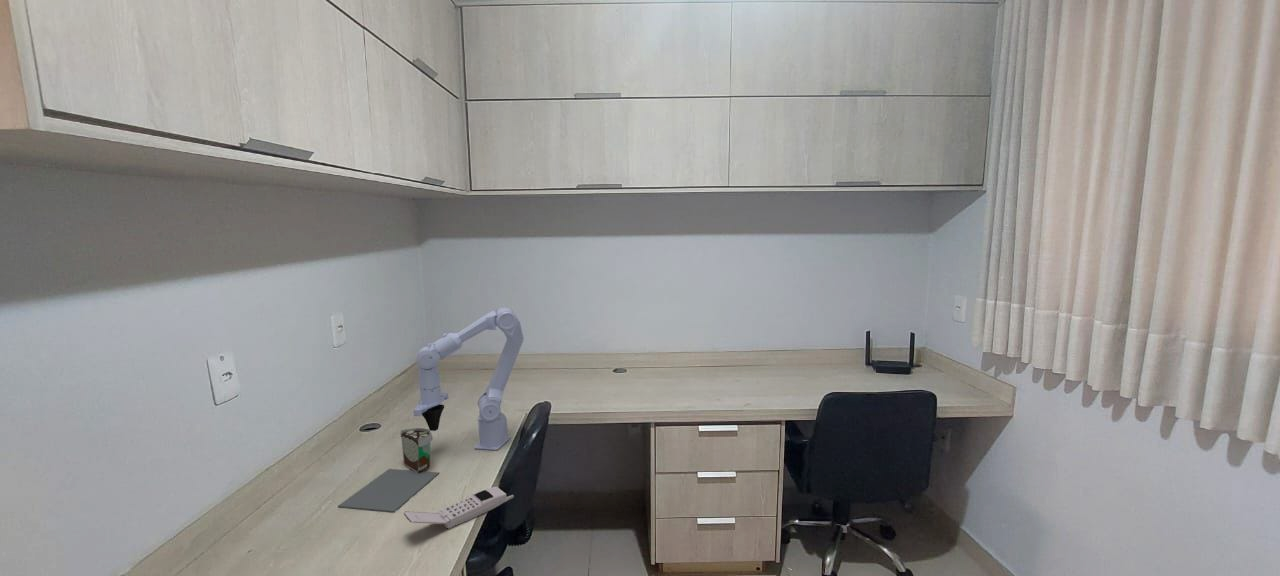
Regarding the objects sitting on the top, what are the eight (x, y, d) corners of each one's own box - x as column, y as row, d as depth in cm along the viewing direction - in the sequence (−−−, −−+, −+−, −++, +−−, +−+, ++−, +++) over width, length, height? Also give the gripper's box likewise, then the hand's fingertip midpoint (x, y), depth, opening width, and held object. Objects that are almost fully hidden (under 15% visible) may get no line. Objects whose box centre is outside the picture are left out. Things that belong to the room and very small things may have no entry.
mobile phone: (402, 511, 113) (502, 470, 130) (404, 535, 113) (503, 491, 131) (411, 523, 108) (514, 478, 125) (414, 547, 109) (515, 500, 126)
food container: (441, 467, 144) (440, 433, 143) (420, 474, 139) (419, 440, 138) (422, 456, 152) (420, 424, 151) (401, 463, 147) (400, 430, 147)
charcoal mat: (389, 470, 144) (389, 468, 144) (439, 473, 141) (439, 472, 141) (338, 507, 125) (337, 505, 125) (394, 512, 122) (394, 511, 122)
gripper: (432, 378, 158) (436, 419, 159) (402, 394, 143) (406, 439, 145) (452, 379, 156) (456, 420, 158) (424, 395, 142) (428, 440, 144)
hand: (434, 429), depth 152 cm, fingers closed
